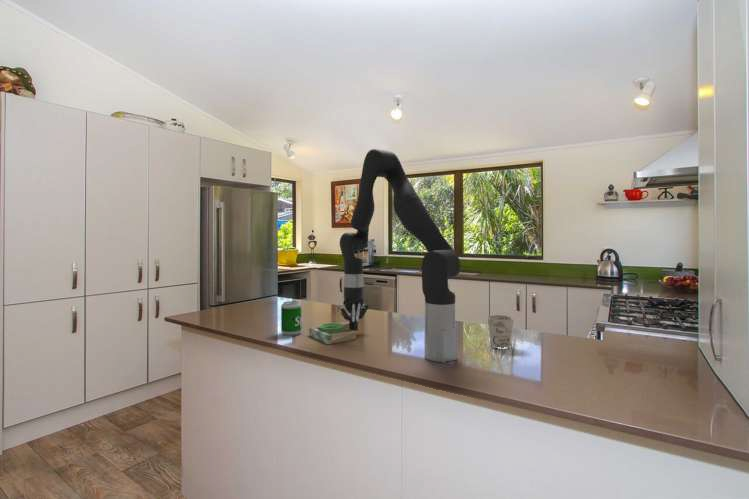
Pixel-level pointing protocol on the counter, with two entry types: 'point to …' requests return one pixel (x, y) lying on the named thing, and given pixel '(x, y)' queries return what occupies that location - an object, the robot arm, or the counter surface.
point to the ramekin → (332, 328)
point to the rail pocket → (335, 337)
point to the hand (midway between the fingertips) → (353, 330)
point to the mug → (500, 330)
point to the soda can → (291, 318)
